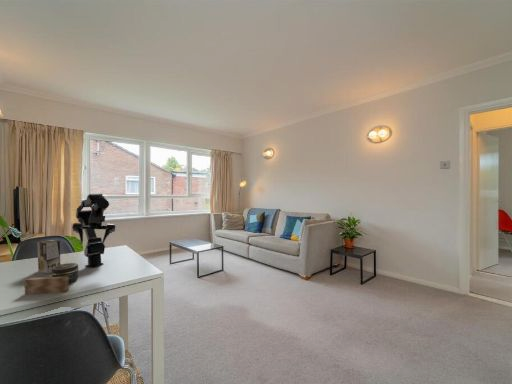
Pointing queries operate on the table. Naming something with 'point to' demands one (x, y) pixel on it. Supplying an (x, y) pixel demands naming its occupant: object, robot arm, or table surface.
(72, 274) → the jar
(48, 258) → the coffee box
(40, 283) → the walnut board
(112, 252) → the table surface
